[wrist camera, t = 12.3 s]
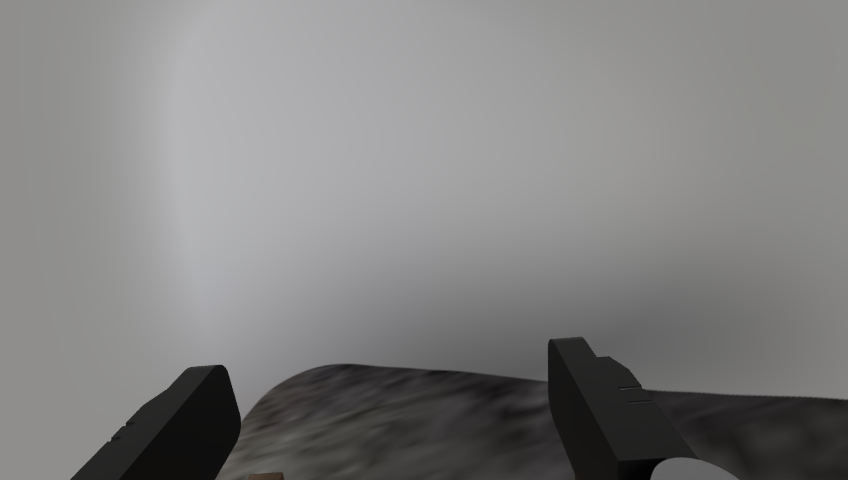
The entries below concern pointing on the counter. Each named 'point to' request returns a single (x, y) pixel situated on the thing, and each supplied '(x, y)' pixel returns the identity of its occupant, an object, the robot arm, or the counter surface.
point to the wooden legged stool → (275, 476)
